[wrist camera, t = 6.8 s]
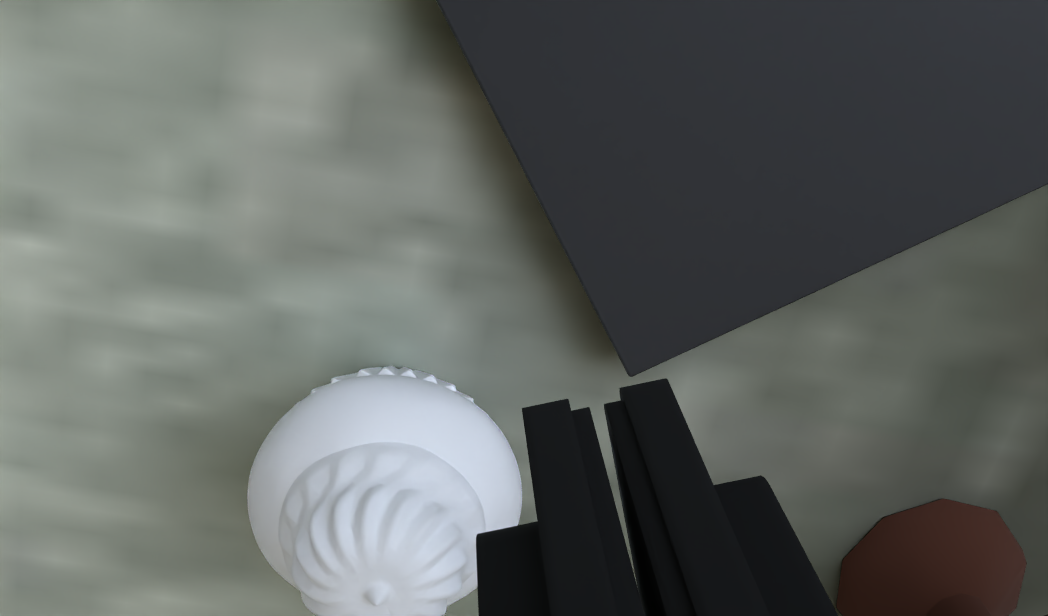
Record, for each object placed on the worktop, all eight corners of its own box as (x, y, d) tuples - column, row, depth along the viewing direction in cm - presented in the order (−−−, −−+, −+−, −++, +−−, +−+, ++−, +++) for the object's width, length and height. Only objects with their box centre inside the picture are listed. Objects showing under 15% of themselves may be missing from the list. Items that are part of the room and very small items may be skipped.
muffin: (233, 354, 25) (158, 525, 18) (469, 280, 24) (477, 429, 18) (326, 546, 27) (289, 756, 21) (541, 482, 27) (571, 676, 20)
